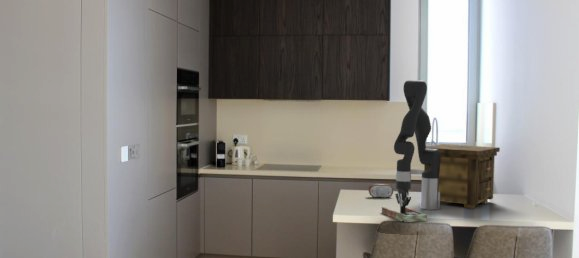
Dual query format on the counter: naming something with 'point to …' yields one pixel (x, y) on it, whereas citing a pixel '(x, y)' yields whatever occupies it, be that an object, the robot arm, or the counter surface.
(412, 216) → the track
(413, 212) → the block
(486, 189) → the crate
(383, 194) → the tin
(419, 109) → the robot arm
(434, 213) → the counter surface
